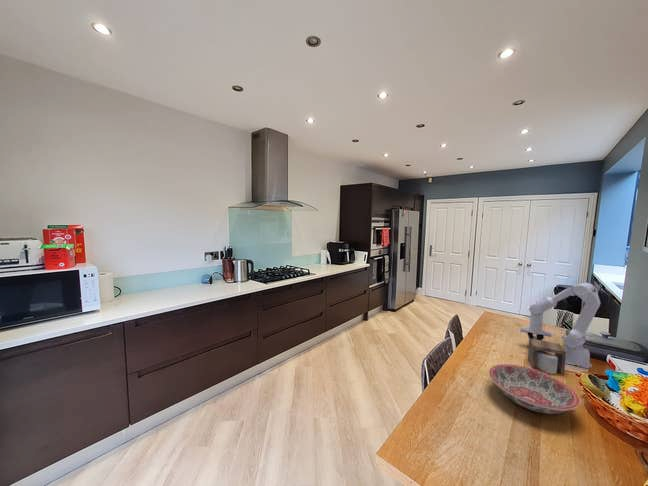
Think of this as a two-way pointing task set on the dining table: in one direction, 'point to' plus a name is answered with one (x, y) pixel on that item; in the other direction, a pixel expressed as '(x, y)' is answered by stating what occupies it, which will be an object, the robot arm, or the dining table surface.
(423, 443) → the dining table surface
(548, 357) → the medicine box
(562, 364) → the low cabinet
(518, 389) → the ceramic bowl
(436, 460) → the dining table surface
